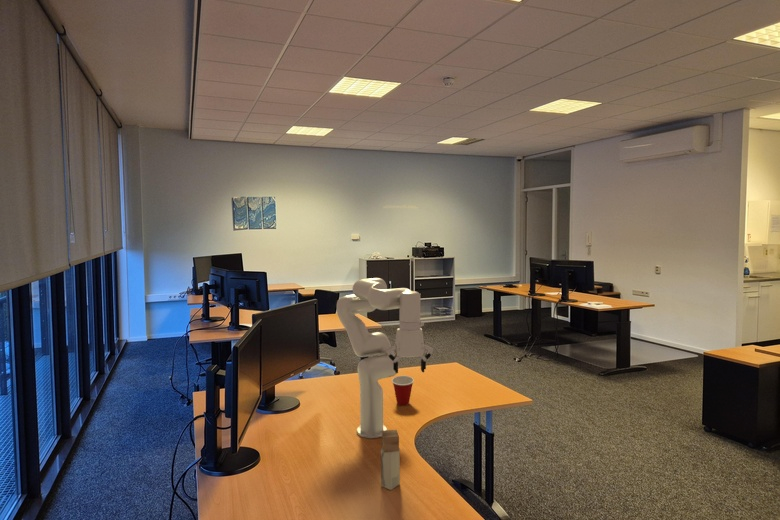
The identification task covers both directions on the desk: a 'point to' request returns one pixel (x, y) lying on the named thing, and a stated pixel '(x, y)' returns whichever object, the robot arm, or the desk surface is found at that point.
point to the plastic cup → (402, 389)
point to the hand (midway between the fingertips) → (409, 371)
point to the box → (390, 469)
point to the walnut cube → (390, 440)
